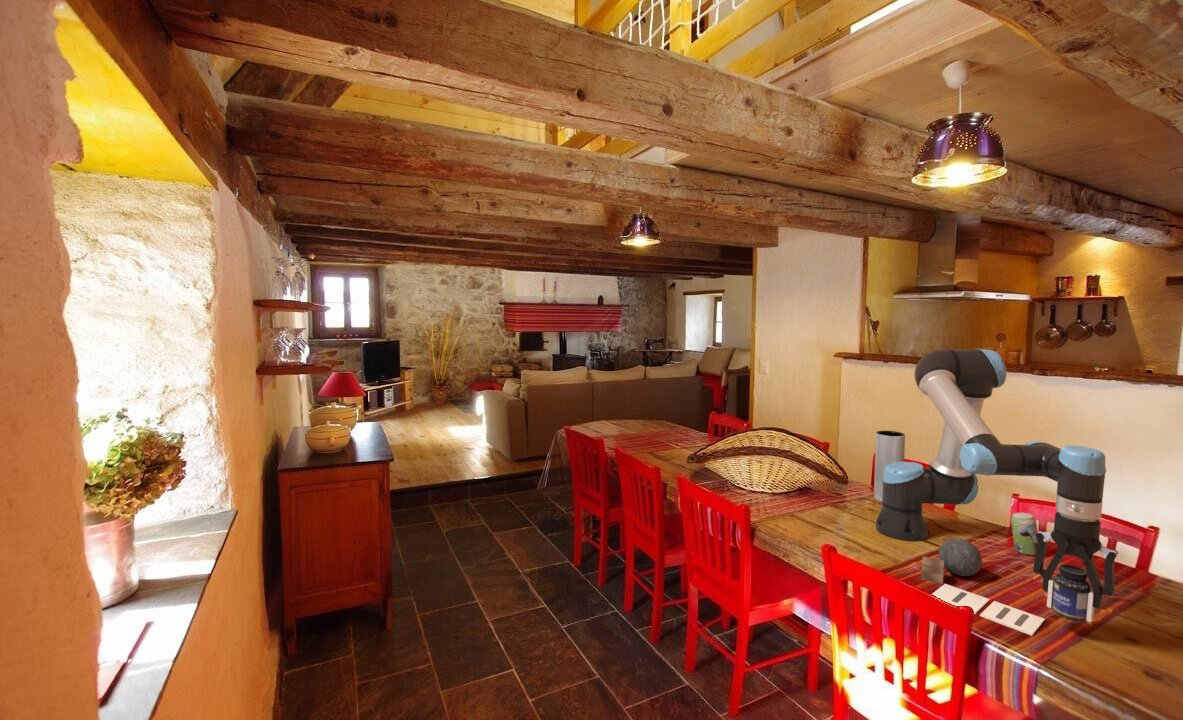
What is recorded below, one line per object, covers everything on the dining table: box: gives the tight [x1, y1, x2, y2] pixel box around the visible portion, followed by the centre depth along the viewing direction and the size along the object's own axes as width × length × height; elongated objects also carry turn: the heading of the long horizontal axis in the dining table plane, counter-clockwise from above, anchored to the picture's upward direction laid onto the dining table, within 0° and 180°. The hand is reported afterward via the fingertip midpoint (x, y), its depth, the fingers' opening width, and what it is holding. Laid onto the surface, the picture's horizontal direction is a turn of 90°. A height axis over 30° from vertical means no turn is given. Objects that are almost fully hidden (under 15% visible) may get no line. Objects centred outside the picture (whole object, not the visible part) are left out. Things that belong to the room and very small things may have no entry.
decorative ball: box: [938, 538, 983, 577], centre depth 147 cm, size 10×10×10 cm
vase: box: [873, 430, 906, 503], centre depth 206 cm, size 10×10×27 cm
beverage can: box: [1010, 512, 1039, 556], centre depth 159 cm, size 6×7×12 cm
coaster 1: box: [931, 583, 990, 615], centre depth 134 cm, size 10×10×1 cm
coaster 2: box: [979, 600, 1046, 637], centre depth 125 cm, size 10×10×1 cm
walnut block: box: [920, 555, 945, 585], centre depth 144 cm, size 5×5×5 cm
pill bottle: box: [1051, 563, 1092, 623], centre depth 119 cm, size 6×6×11 cm
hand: (1069, 611), depth 119 cm, fingers closed on pill bottle, 6 cm apart
